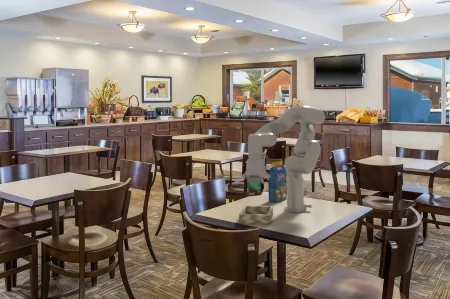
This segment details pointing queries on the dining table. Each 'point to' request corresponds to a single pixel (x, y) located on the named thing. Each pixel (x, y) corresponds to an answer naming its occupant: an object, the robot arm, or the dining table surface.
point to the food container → (254, 186)
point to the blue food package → (277, 182)
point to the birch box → (256, 215)
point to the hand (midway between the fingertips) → (256, 190)
